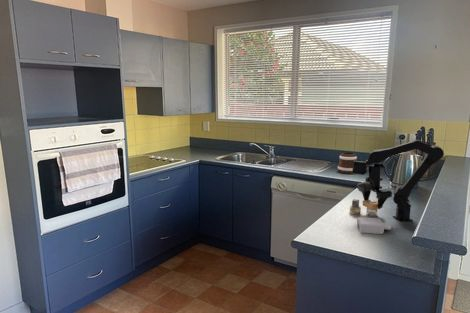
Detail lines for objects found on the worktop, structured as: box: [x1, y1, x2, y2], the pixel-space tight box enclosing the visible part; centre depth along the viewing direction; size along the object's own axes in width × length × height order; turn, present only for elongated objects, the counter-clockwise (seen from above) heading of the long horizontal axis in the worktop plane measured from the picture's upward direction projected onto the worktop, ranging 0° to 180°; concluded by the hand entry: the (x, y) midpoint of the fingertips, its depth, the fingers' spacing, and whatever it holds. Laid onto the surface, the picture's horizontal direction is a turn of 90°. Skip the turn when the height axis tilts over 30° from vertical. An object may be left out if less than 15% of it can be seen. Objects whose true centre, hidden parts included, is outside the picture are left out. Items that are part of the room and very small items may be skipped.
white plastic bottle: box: [356, 216, 396, 235], centre depth 150 cm, size 5×9×15 cm
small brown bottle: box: [349, 198, 362, 216], centre depth 172 cm, size 5×5×7 cm
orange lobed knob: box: [365, 199, 379, 218], centre depth 169 cm, size 5×5×7 cm
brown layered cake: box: [337, 152, 358, 175], centre depth 269 cm, size 20×15×15 cm
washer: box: [362, 198, 384, 210], centre depth 169 cm, size 7×7×2 cm
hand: (372, 206), depth 169 cm, fingers open, 9 cm apart
